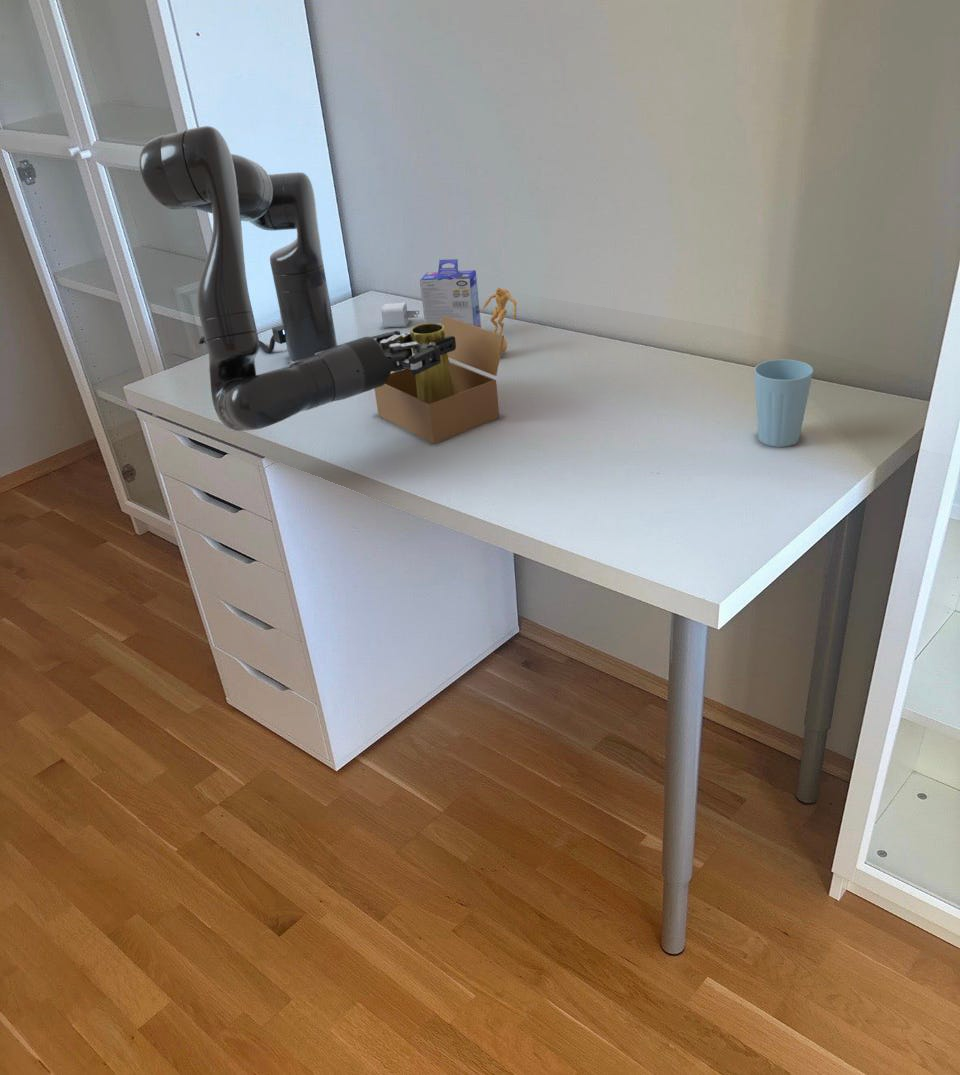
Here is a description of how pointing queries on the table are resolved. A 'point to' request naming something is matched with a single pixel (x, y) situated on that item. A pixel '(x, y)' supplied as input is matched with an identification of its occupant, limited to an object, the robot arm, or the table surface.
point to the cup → (781, 400)
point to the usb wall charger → (396, 315)
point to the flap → (474, 345)
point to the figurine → (501, 311)
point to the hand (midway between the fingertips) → (442, 338)
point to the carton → (439, 404)
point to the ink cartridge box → (450, 295)
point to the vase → (437, 378)
